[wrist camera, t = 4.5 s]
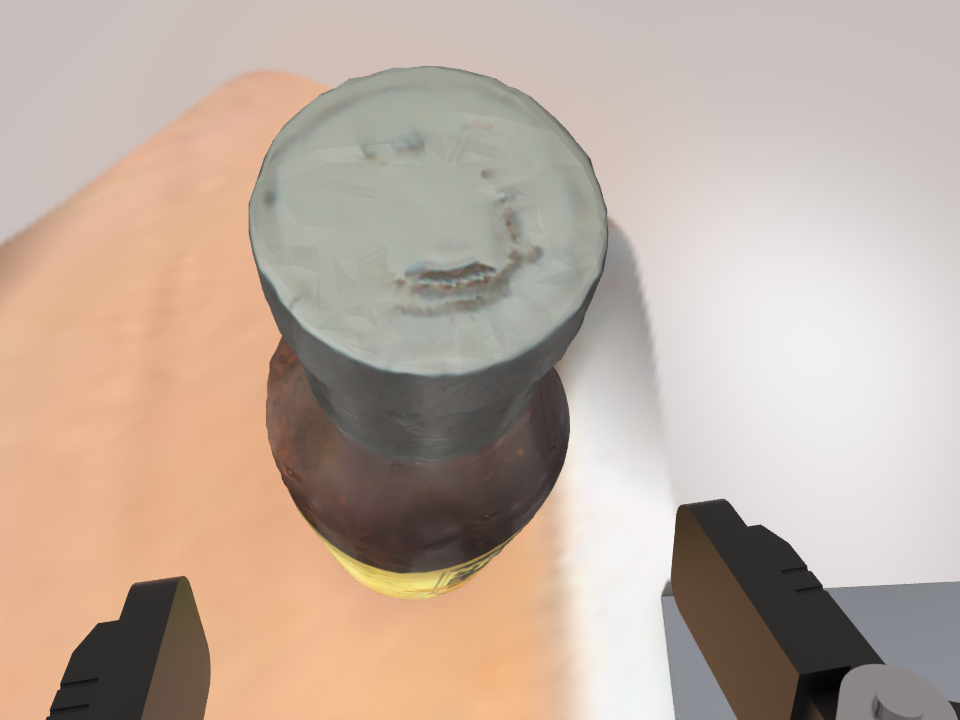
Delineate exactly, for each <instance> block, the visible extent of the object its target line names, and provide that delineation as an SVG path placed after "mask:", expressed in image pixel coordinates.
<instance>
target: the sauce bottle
mask: <svg viewBox="0 0 960 720" xmlns="http://www.w3.org/2000/svg"><path fill="white" fill-rule="evenodd" d="M249 236H250V241H251V247H252V252H253V256H254V260H255V263H256V267H257V270H258V274H259V278H260V282H261V285H262V289H263V292H264V295H265V298H266V301H267V302H268V304H269V306H270V309H271V312H272V314H273V317H274V319H275V321H276V324H277V326H278V329H279V331H280V333H281V334H282V338H281V340H280V342H279V345H278V347H277V349H276V351H275V353H274V355H273V356H272V358H271V361H270V372H269V377H268V383H267V401H266V427H267V429H268V439H269V443H270V445H271V449H272V454H273V457H274V459H275V462H276V465H277V468H278V469H279V471H280V473H281V476H282V480H283V482H284V484H285V485H286V487H287V488H288V491H289V493H290V495H291V497H292V499H293V501H294V503H295V505H296V507H297V508H298V510H299V512H300V513H301V514H302V516H303V517H304V518H305V520H306V521H307V522H308V524H309V525H310V526H311V527H312V529H313V530H314V531H315V532H316V534H317V535H318V536H319V537H320V539H321V540H322V541H323V543H324V544H325V546H326V547H327V548H328V549H329V551H330V552H331V553H332V555H333V556H334V557H335V559H336V560H337V561H338V562H339V563H340V565H341V566H342V567H343V568H344V569H345V570H346V571H347V572H348V573H349V574H350V575H351V576H352V577H354V578H355V579H356V580H357V581H359V582H360V583H361V584H363V585H364V586H366V587H368V588H371V589H373V590H375V591H377V592H379V593H381V594H384V595H387V596H391V597H396V598H402V599H425V598H431V597H435V596H439V595H442V594H446V593H448V592H451V591H454V590H456V589H458V588H459V587H461V586H463V585H464V584H466V583H467V582H468V581H470V580H471V579H472V578H473V577H475V576H476V575H477V574H478V573H479V572H480V571H481V570H482V569H483V568H484V567H485V566H486V565H487V564H488V563H489V562H490V561H491V560H492V559H493V558H494V557H495V556H497V555H498V554H499V553H500V552H501V551H502V549H503V548H504V547H505V546H506V545H507V544H508V543H509V542H510V541H511V540H512V539H513V538H514V537H515V536H516V535H517V534H518V533H519V532H520V531H521V530H522V529H523V528H524V527H525V526H526V525H527V524H528V523H529V522H530V521H531V520H532V518H533V517H534V515H535V514H536V512H537V511H538V510H539V509H540V508H541V506H542V505H543V503H544V501H545V500H546V498H547V497H548V495H549V494H550V492H551V491H552V489H553V487H554V485H555V483H556V481H557V479H558V477H559V475H560V472H561V470H562V467H563V465H564V461H565V457H566V453H567V448H568V441H569V434H570V417H569V408H568V403H567V398H566V394H565V391H564V388H563V385H562V382H561V380H560V377H559V375H558V373H557V372H556V370H555V368H554V367H553V366H554V365H555V364H556V362H558V361H559V360H560V359H561V358H562V357H563V355H564V353H565V351H566V350H567V348H568V346H569V344H570V343H571V341H572V340H573V339H574V337H575V336H576V335H577V333H578V331H579V329H580V327H581V325H582V323H583V320H584V316H585V313H586V311H587V308H588V306H589V304H590V302H591V300H592V297H593V295H594V292H595V290H596V288H597V285H598V283H599V280H600V278H601V276H602V273H603V270H604V265H605V259H606V253H607V247H608V226H607V208H606V205H605V203H604V199H603V195H602V192H601V188H600V185H599V183H598V181H597V178H596V176H595V173H594V170H593V167H592V163H591V159H590V158H589V157H588V155H587V154H586V153H585V152H584V151H583V149H582V148H581V147H580V146H579V144H578V143H577V142H576V141H575V140H574V138H573V137H572V136H571V135H570V133H569V132H568V131H567V130H566V128H565V127H564V126H563V125H562V124H561V123H559V121H558V120H557V119H556V118H555V117H554V116H552V115H551V114H550V113H549V112H548V111H547V110H545V109H544V108H543V107H542V106H541V105H539V104H538V103H537V102H536V101H535V100H534V99H533V98H532V97H530V96H528V95H527V94H525V93H523V92H521V91H520V90H518V89H515V88H512V87H509V86H507V85H505V84H504V83H502V82H500V81H498V80H497V79H495V78H492V77H488V76H484V75H480V74H476V73H472V72H468V71H465V70H461V69H454V68H446V67H436V66H429V67H428V66H422V67H413V68H391V69H388V70H385V71H381V72H378V73H375V74H372V75H370V76H365V77H359V78H352V79H348V80H347V81H346V82H344V83H343V84H341V85H340V86H338V87H337V88H335V89H332V90H330V91H327V92H325V93H323V94H321V95H319V96H318V97H317V98H316V99H314V100H313V101H312V102H310V103H309V104H308V105H307V106H305V107H304V108H303V109H302V110H301V111H300V112H298V113H297V114H296V115H295V116H294V117H293V118H292V119H291V120H290V121H288V122H287V123H286V124H285V125H284V126H283V128H282V129H281V131H280V132H279V133H278V135H277V136H276V137H275V139H274V140H273V142H272V144H271V146H270V148H269V150H268V152H267V154H266V156H265V158H264V161H263V164H262V167H261V170H260V173H259V176H258V179H257V182H256V185H255V187H254V190H253V193H252V196H251V199H250V202H249Z"/></svg>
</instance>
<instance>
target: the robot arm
mask: <svg viewBox="0 0 960 720" xmlns="http://www.w3.org/2000/svg"><path fill="white" fill-rule="evenodd" d="M671 583H672V590H673V594H674V598H675V602H676V605H677V607H678V610H679V612H680V614H681V616H682V617H683V619H684V621H685V623H686V625H687V627H688V629H689V630H690V632H691V634H692V636H693V638H694V640H695V642H696V643H697V645H698V647H699V649H700V651H701V653H702V655H703V656H704V658H705V660H706V662H707V664H708V666H709V668H710V669H711V671H712V673H713V675H714V677H715V679H716V681H717V682H718V684H719V686H720V688H721V690H722V692H723V694H724V695H725V697H726V699H727V701H728V703H729V705H730V707H731V708H732V710H733V712H734V714H735V716H736V718H737V720H960V703H959V702H953V701H949V700H947V699H946V698H945V696H944V695H943V694H942V693H941V692H940V691H939V690H938V689H937V688H935V687H934V686H933V685H931V684H930V683H929V682H927V681H926V680H924V679H923V678H921V677H919V676H917V675H915V674H913V673H911V672H909V671H907V670H904V669H901V668H898V667H894V666H890V665H886V664H885V663H884V662H883V660H882V659H881V658H880V657H879V655H878V654H877V653H876V652H875V650H874V649H873V648H872V647H871V645H870V644H869V643H868V642H867V640H866V639H865V638H864V637H863V635H862V634H861V633H860V632H859V630H858V629H857V628H856V627H855V625H854V624H853V623H852V622H851V620H850V619H849V618H848V617H847V615H846V614H845V613H844V612H843V610H842V609H841V608H840V607H839V605H838V604H837V603H836V602H835V600H834V599H833V598H832V597H831V595H830V594H829V593H828V592H827V590H826V591H824V590H823V586H822V584H821V583H820V582H819V580H818V579H817V578H816V577H815V575H814V574H813V573H812V572H811V571H808V569H807V565H806V564H805V563H804V562H803V561H802V559H801V558H800V557H799V555H798V554H797V553H796V552H795V550H794V549H793V548H792V547H791V545H790V544H789V543H788V542H786V541H784V540H783V539H782V538H780V537H779V536H777V535H776V534H774V533H773V532H771V531H770V530H768V529H767V528H765V527H764V526H762V525H755V526H748V527H747V525H746V524H745V523H744V521H743V520H742V519H741V517H740V516H739V515H738V513H737V512H736V511H735V510H734V508H733V507H732V505H731V504H730V503H729V502H728V501H726V500H725V499H718V500H712V501H704V502H697V503H691V504H684V505H680V506H679V508H678V510H677V514H676V523H675V535H674V546H673V557H672V568H671ZM60 686H61V688H60V690H58V691H57V693H56V696H55V698H54V701H53V703H52V706H51V708H50V716H49V717H47V718H46V720H203V719H204V714H205V708H206V703H207V698H208V692H209V686H210V655H209V648H208V644H207V640H206V637H205V634H204V630H203V627H202V623H201V620H200V616H199V613H198V610H197V606H196V603H195V599H194V596H193V592H192V589H191V586H190V583H189V581H188V579H187V578H186V577H185V576H180V577H173V578H166V579H159V580H153V581H146V582H139V583H135V584H133V585H132V586H131V588H130V590H129V593H128V596H127V598H126V601H125V604H124V607H123V610H122V613H121V616H120V619H119V620H117V621H110V622H103V623H98V624H97V625H96V626H95V627H94V629H93V630H92V631H91V632H90V633H89V634H88V635H87V637H86V638H85V639H84V640H83V641H82V642H81V644H80V645H79V646H78V647H77V648H76V649H75V650H74V652H73V653H72V656H71V658H70V661H69V663H68V666H67V668H66V671H65V673H64V676H63V678H62V681H61V683H60Z"/></svg>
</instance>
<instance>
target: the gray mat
mask: <svg viewBox="0 0 960 720" xmlns="http://www.w3.org/2000/svg"><path fill="white" fill-rule="evenodd" d="M823 590H824V591H826V590H827V592H828V593H829V594H830V595H831V597H832V598H833V599H834V600H835V602H836V603H837V604H838V605H839V607H840V608H841V609H842V610H843V612H844V613H845V614H846V615H847V617H848V618H849V619H850V620H851V622H852V623H853V624H854V625H855V627H856V628H857V629H858V630H859V632H860V633H861V634H862V635H863V637H864V638H865V639H866V640H867V642H868V643H869V644H870V645H871V647H872V648H873V649H874V650H875V652H876V653H877V654H878V655H879V657H880V658H881V659H882V660H883V662H884V663H885V664H886V665H890V666H894V667H898V668H901V669H904V670H907V671H909V672H911V673H913V674H915V675H917V676H919V677H921V678H923V679H924V680H926V681H927V682H929V683H930V684H931V685H933V686H934V687H935V688H937V689H938V690H939V691H940V692H941V693H942V694H943V695H944V696H945V698H946V699H947V700H949V701H953V702H959V703H960V582H944V583H943V582H942V583H921V584H902V585H882V586H862V587H842V588H823ZM661 601H662V609H663V618H664V626H665V635H666V643H667V652H668V660H669V669H670V677H671V686H672V694H673V703H674V711H675V720H737V718H736V716H735V714H734V712H733V710H732V708H731V707H730V705H729V703H728V701H727V699H726V697H725V695H724V694H723V692H722V690H721V688H720V686H719V684H718V682H717V681H716V679H715V677H714V675H713V673H712V671H711V669H710V668H709V666H708V664H707V662H706V660H705V658H704V656H703V655H702V653H701V651H700V649H699V647H698V645H697V643H696V642H695V640H694V638H693V636H692V634H691V632H690V630H689V629H688V627H687V625H686V623H685V621H684V619H683V617H682V616H681V614H680V612H679V610H678V607H677V605H676V602H675V598H674V596H662V597H661Z"/></svg>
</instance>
